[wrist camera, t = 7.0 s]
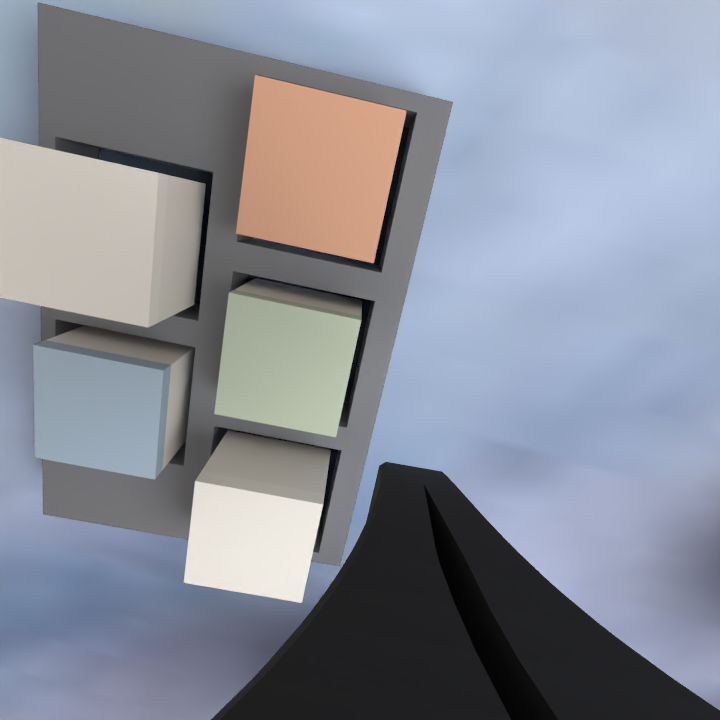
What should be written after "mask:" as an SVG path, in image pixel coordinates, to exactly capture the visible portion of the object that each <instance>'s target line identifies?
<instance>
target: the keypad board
mask: <svg viewBox="0 0 720 720" xmlns="http://www.w3.org/2000/svg"><path fill="white" fill-rule="evenodd" d="M255 75H258V76H263V77H267V78H271V79H275V80H279V81H284V82H288V83H292V84H296V85H300V86H305V87H309V88H313V89H317V90H322V91H326V92H330V93H334V94H338V95H343V96H347V97H351V98H355V99H359V100H364V101H368V102H372V103H376V104H381V105H385V106H389V107H393V108H397V109H402V110H406V111H407V112H406V117H405V121H404V126H403V127H407V128H409V133H408V137H407V142H406V146H405V151H404V155H403V160H402V164H401V169H400V173H399V178H398V182H397V187H396V191H395V196H394V201H393V205H392V210H391V214H390V219H389V223H388V228H387V232H386V237H385V241H384V246H383V250H382V255H381V259H380V264H379V266H377V265H373V264H368V263H364V262H359V261H354V260H350V259H345V258H340V257H336V256H331V255H327V254H322V253H317V252H313V251H308V250H303V249H299V248H294V247H290V246H285V245H280V244H276V243H271V242H266V241H262V240H257V239H254V237H250V236H245V235H241V234H236V229H237V221H238V212H239V204H240V196H241V187H242V179H243V171H244V163H245V154H246V146H247V138H248V129H249V121H250V113H251V104H252V96H253V88H254V79H255ZM38 83H39V146H40V147H44V148H49V149H53V150H58V151H62V152H67V153H71V154H76V155H80V156H85V157H89V158H94V159H98V160H99V149H103V150H108V151H112V152H117V153H121V154H126V155H130V156H135V157H139V158H144V159H148V160H153V161H157V162H162V163H166V164H171V165H175V166H180V167H184V168H189V169H193V170H197V171H202V172H206V173H211V174H213V180H212V190H211V200H210V210H209V219H208V229H207V239H206V249H205V259H204V269H203V279H202V289H201V299H200V304H197V303H194V305H193V306H191V307H189V308H187V309H185V310H183V311H181V312H179V313H177V314H175V315H173V316H171V317H169V318H167V319H165V320H163V321H161V322H159V323H157V324H155V325H153V326H151V327H149V328H148V327H143V326H138V325H133V324H128V323H123V322H118V321H113V320H108V319H103V318H98V317H93V316H88V315H83V314H79V313H74V312H69V311H64V310H59V309H54V308H49V307H44V306H41V342H42V341H45V340H47V339H50V338H52V337H55V336H58V335H60V334H63V333H66V332H68V331H71V330H74V329H76V328H79V327H82V326H84V325H87V326H92V327H97V328H102V329H106V330H111V331H116V332H121V333H126V334H131V335H136V336H141V337H146V338H151V339H156V340H161V341H166V342H171V343H176V344H181V345H186V346H191V347H196V348H195V358H194V368H193V378H192V388H191V398H190V408H189V417H188V427H187V437H186V441H185V443H184V444H183V445H182V446H181V448H180V449H179V450H178V451H177V453H176V454H175V455H174V456H173V458H172V459H171V460H170V461H169V463H168V464H167V465H166V466H165V468H164V469H163V470H162V471H161V473H160V474H159V475H158V476H157V478H156V479H149V478H144V477H138V476H133V475H127V474H122V473H116V472H111V471H106V470H100V469H95V468H89V467H84V466H78V465H73V464H67V463H62V462H56V461H51V460H45V459H42V466H43V514H45V515H51V516H56V517H62V518H68V519H74V520H79V521H85V522H91V523H96V524H102V525H108V526H113V527H119V528H125V529H130V530H136V531H142V532H147V533H153V534H159V535H164V536H170V537H176V538H181V539H187V540H189V531H190V522H191V513H192V504H193V495H194V486H195V480H196V479H197V477H198V476H199V474H200V473H201V471H202V470H203V468H204V466H205V465H206V463H207V462H208V460H209V459H210V457H211V456H212V454H213V452H214V451H215V449H216V448H217V446H218V445H219V443H220V442H221V440H222V439H223V437H224V435H225V434H226V432H227V431H228V429H232V430H237V431H243V432H248V433H253V434H258V435H264V436H269V437H274V438H279V439H285V440H290V441H295V442H300V443H305V444H311V445H316V446H321V447H326V448H332V449H337V450H338V454H337V459H336V463H335V468H334V473H333V477H332V482H331V486H330V491H329V495H328V500H327V504H326V509H325V513H324V517H323V516H321V517H320V522H319V526H318V531H317V535H316V540H315V545H314V549H313V554H312V558H311V561H312V562H318V563H323V564H329V565H335V566H340V563H341V559H342V555H343V551H344V547H345V543H346V539H347V535H348V531H349V526H350V522H351V518H352V514H353V510H354V506H355V502H356V498H357V494H358V490H359V485H360V481H361V477H362V473H363V469H364V465H365V461H366V457H367V453H368V449H369V444H370V440H371V436H372V432H373V428H374V424H375V420H376V416H377V412H378V407H379V403H380V399H381V395H382V391H383V387H384V383H385V379H386V375H387V371H388V366H389V362H390V358H391V354H392V350H393V346H394V342H395V338H396V334H397V330H398V325H399V321H400V317H401V313H402V309H403V305H404V301H405V297H406V293H407V288H408V284H409V280H410V276H411V272H412V268H413V264H414V260H415V256H416V252H417V247H418V243H419V239H420V235H421V231H422V227H423V223H424V219H425V215H426V211H427V206H428V202H429V198H430V194H431V190H432V186H433V182H434V178H435V174H436V169H437V165H438V161H439V157H440V153H441V149H442V145H443V141H444V137H445V133H446V128H447V124H448V120H449V116H450V112H451V108H452V104H453V102H451V101H446V100H442V99H438V98H434V97H430V96H426V95H421V94H417V93H413V92H409V91H405V90H401V89H396V88H392V87H388V86H384V85H380V84H376V83H371V82H367V81H363V80H359V79H355V78H351V77H346V76H342V75H338V74H334V73H330V72H326V71H321V70H317V69H313V68H309V67H305V66H301V65H297V64H292V63H288V62H284V61H280V60H276V59H272V58H267V57H263V56H259V55H255V54H251V53H247V52H242V51H238V50H234V49H230V48H226V47H222V46H217V45H213V44H209V43H205V42H201V41H197V40H192V39H188V38H184V37H180V36H176V35H172V34H167V33H163V32H159V31H155V30H151V29H147V28H142V27H138V26H134V25H130V24H126V23H122V22H117V21H113V20H109V19H105V18H101V17H97V16H92V15H88V14H84V13H80V12H76V11H72V10H67V9H63V8H59V7H55V6H51V5H47V4H42V3H38ZM249 275H254V276H259V277H263V278H268V279H273V280H278V281H282V282H287V283H292V284H296V285H301V286H306V287H311V288H315V289H320V290H325V291H330V292H334V293H339V294H344V295H348V296H353V297H358V298H363V299H367V300H371V305H370V309H369V314H368V318H367V323H366V327H365V332H364V337H363V341H362V346H361V350H360V355H359V359H358V364H357V368H356V373H355V377H354V382H353V386H352V391H351V395H350V400H349V403H347V402H344V403H343V408H342V412H341V417H340V421H339V426H338V431H337V435H336V437H332V436H326V435H321V434H316V433H311V432H306V431H300V430H295V429H290V428H285V427H280V426H274V425H269V424H264V423H259V422H254V421H249V420H243V419H238V418H233V417H228V416H223V415H217V414H214V412H215V404H216V395H217V387H218V379H219V371H220V362H221V354H222V346H223V337H224V329H225V321H226V312H227V304H228V296H229V292H231V291H233V290H235V289H236V288H238V287H240V286H242V285H244V284H246V283H248V277H249Z"/></svg>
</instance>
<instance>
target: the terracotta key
mask: <svg viewBox="0 0 720 720" xmlns="http://www.w3.org/2000/svg"><path fill="white" fill-rule="evenodd" d="M406 112H407V111H406V110H402V109H397V108H393V107H389V106H385V105H381V104H376V103H372V102H368V101H364V100H359V99H355V98H351V97H347V96H343V95H338V94H334V93H330V92H326V91H322V90H317V89H313V88H309V87H305V86H300V85H296V84H292V83H288V82H284V81H279V80H275V79H271V78H267V77H263V76H258V75H255V79H254V88H253V96H252V104H251V113H250V121H249V129H248V138H247V146H246V154H245V163H244V171H243V179H242V187H241V196H240V204H239V212H238V221H237V229H236V234H241V235H245V236H250V237H254V238H259V239H264V240H268V241H273V242H277V243H282V244H287V245H291V246H296V247H301V248H305V249H310V250H314V251H319V252H324V253H328V254H333V255H338V256H342V257H347V258H351V259H356V260H361V261H365V262H370V263H374V260H375V255H376V251H377V246H378V241H379V237H380V232H381V228H382V223H383V218H384V214H385V209H386V204H387V200H388V195H389V191H390V186H391V181H392V177H393V172H394V167H395V163H396V158H397V154H398V149H399V144H400V140H401V135H402V131H403V126H404V121H405V117H406Z"/></svg>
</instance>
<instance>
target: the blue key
mask: <svg viewBox="0 0 720 720" xmlns="http://www.w3.org/2000/svg"><path fill="white" fill-rule="evenodd" d="M195 348H196V347H191V346H186V345H181V344H176V343H171V342H166V341H161V340H156V339H151V338H146V337H141V336H136V335H131V334H126V333H121V332H116V331H111V330H106V329H102V328H97V327H92V326H87V325H84V326H82V327H79V328H76V329H74V330H71V331H68V332H66V333H63V334H60V335H58V336H55V337H52V338H50V339H47V340H45V341H42V342H39V343H37V344H34V345H33V382H34V443H35V458H40V459H45V460H51V461H56V462H62V463H67V464H73V465H78V466H84V467H89V468H95V469H100V470H106V471H111V472H116V473H122V474H127V475H133V476H138V477H144V478H149V479H156V478H157V476H158V475H159V474H160V473H161V471H162V470H163V469H164V468H165V466H166V465H167V464H168V463H169V461H170V460H171V459H172V458H173V456H174V455H175V454H176V453H177V451H178V450H179V449H180V448H181V446H182V445H183V444H184V443H185V441H186V437H187V427H188V417H189V408H190V398H191V388H192V378H193V368H194V358H195Z"/></svg>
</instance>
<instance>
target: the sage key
mask: <svg viewBox="0 0 720 720" xmlns="http://www.w3.org/2000/svg"><path fill="white" fill-rule="evenodd" d="M361 315H362V300H358V299H353V298H348V297H343V296H339V295H334V294H329V293H324V292H320V291H315V290H310V289H306V288H301V287H296V286H291V285H287V284H282V283H277V282H272V281H268V280H263V279H258V278H255V279H253V280H251V281H249V282H248V283H246V284H244V285H242V286H240V287H238V288H236V289H235V290H233V291H231V292H229V296H228V304H227V312H226V321H225V329H224V337H223V346H222V354H221V362H220V371H219V379H218V387H217V395H216V404H215V412H214V414H217V415H223V416H228V417H233V418H238V419H243V420H249V421H254V422H259V423H264V424H269V425H274V426H280V427H285V428H290V429H295V430H300V431H306V432H311V433H316V434H321V435H326V436H332V437H336V435H337V431H338V426H339V421H340V417H341V412H342V408H343V403H344V398H345V394H346V389H347V384H348V380H349V375H350V371H351V366H352V361H353V357H354V352H355V348H356V343H357V338H358V334H359V329H360V324H361Z"/></svg>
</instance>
